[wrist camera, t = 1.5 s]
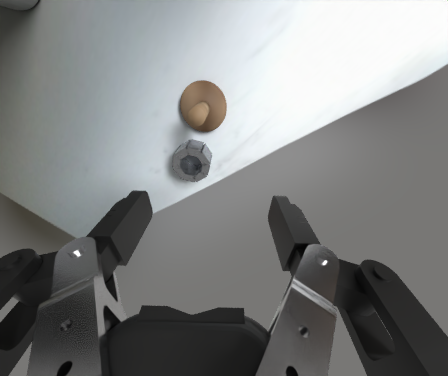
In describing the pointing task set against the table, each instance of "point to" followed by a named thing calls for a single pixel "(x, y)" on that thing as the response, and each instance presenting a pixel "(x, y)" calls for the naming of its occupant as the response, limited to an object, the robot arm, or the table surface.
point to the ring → (189, 170)
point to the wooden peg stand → (203, 106)
